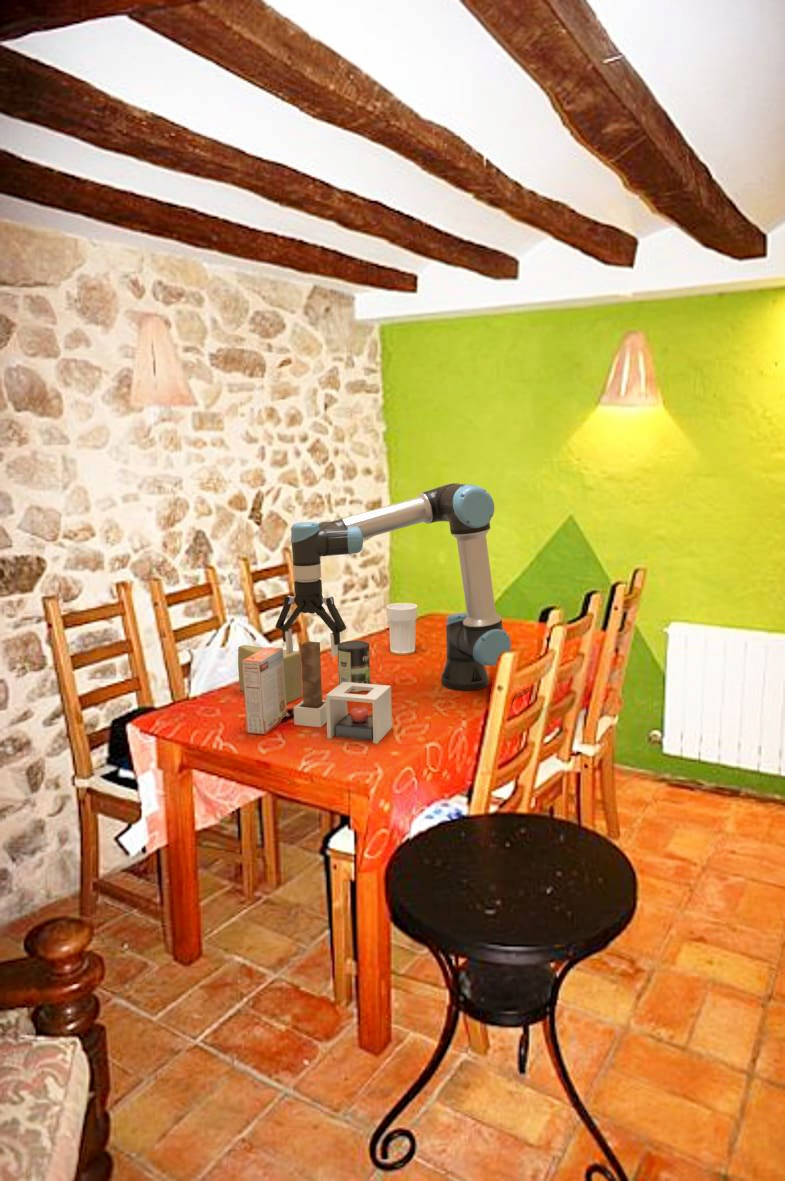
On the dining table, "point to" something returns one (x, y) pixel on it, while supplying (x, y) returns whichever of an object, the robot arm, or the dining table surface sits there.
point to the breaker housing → (355, 728)
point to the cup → (402, 627)
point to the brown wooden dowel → (311, 674)
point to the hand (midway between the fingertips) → (312, 654)
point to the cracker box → (264, 690)
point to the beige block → (290, 670)
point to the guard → (376, 696)
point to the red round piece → (359, 714)
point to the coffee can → (354, 662)
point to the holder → (310, 715)
